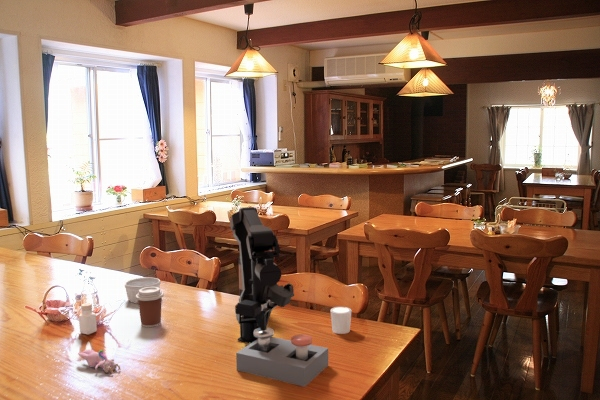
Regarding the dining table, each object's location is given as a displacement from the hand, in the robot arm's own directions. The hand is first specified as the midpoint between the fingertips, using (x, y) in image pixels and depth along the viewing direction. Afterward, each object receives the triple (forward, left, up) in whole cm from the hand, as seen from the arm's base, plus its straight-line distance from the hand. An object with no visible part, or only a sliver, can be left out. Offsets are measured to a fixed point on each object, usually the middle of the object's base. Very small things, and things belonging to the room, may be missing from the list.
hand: (263, 330), depth 152 cm
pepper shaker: (-64, -6, -10) cm, 65 cm away
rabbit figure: (-40, -23, -10) cm, 47 cm away
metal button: (0, 0, -6) cm, 6 cm away
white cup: (+9, +32, -10) cm, 35 cm away
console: (+6, 0, -10) cm, 11 cm away
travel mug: (-28, +35, -10) cm, 46 cm away
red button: (+12, 0, -6) cm, 13 cm away
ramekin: (-73, +28, -10) cm, 79 cm away
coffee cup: (-51, +9, -10) cm, 53 cm away
